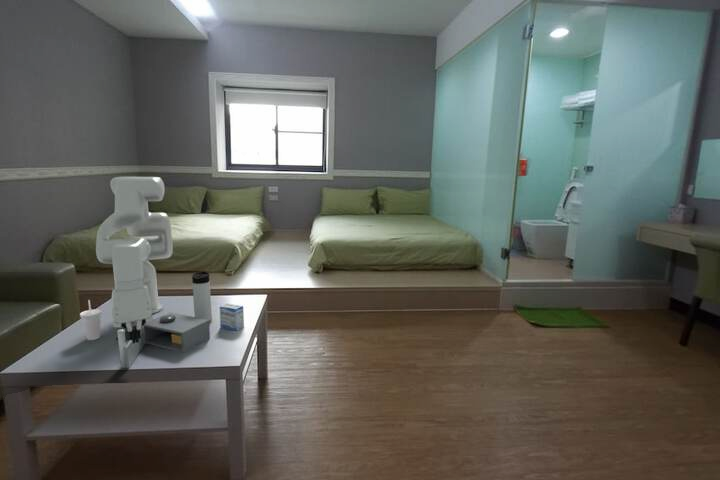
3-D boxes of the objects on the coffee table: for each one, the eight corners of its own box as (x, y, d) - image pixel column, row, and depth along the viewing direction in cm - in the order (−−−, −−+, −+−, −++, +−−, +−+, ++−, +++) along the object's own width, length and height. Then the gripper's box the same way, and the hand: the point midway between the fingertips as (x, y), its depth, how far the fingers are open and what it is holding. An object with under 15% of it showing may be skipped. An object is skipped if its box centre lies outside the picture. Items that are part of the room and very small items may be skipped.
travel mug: (215, 318, 158) (212, 271, 155) (207, 325, 152) (204, 275, 148) (200, 318, 159) (197, 270, 155) (191, 324, 153) (188, 275, 149)
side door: (136, 343, 135) (133, 311, 133) (145, 342, 136) (142, 310, 134) (119, 368, 118) (116, 332, 116) (129, 367, 119) (126, 331, 117)
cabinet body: (144, 343, 136) (142, 321, 135) (172, 330, 147) (170, 309, 146) (184, 352, 130) (182, 329, 128) (210, 338, 141) (208, 317, 139)
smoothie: (102, 332, 144) (97, 296, 141) (106, 338, 139) (102, 300, 137) (81, 337, 140) (76, 300, 137) (84, 343, 135) (80, 305, 132)
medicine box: (220, 328, 150) (218, 306, 148) (227, 323, 154) (226, 302, 152) (237, 331, 147) (236, 309, 146) (244, 326, 151) (243, 305, 150)
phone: (156, 322, 153) (135, 338, 138) (157, 324, 153) (135, 341, 138) (137, 322, 153) (114, 338, 138) (138, 324, 153) (114, 340, 138)
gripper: (155, 277, 123) (160, 331, 127) (99, 284, 115) (106, 342, 119) (159, 283, 117) (164, 340, 121) (100, 291, 109) (107, 352, 112)
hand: (135, 341), depth 120 cm, fingers closed
